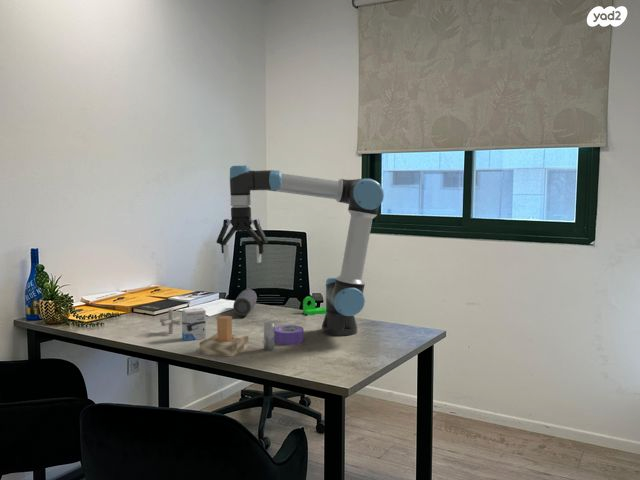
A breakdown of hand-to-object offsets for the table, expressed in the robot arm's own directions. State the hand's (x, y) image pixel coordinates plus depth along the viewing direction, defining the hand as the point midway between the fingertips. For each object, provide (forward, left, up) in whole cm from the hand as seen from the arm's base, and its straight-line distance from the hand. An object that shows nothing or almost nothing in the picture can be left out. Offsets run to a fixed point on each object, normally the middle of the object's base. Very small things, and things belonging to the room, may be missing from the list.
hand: (242, 262), depth 221 cm
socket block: (+3, +9, -32) cm, 33 cm away
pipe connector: (+35, -5, -32) cm, 48 cm away
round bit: (-12, +4, -32) cm, 34 cm away
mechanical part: (-11, -60, -32) cm, 69 cm away
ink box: (+22, -1, -32) cm, 39 cm away
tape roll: (-15, -10, -32) cm, 37 cm away
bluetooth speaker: (+22, -50, -32) cm, 63 cm away
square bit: (+3, +9, -32) cm, 33 cm away
